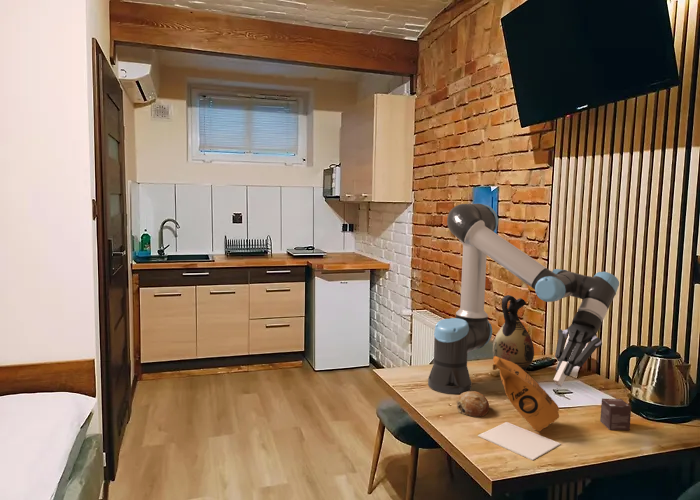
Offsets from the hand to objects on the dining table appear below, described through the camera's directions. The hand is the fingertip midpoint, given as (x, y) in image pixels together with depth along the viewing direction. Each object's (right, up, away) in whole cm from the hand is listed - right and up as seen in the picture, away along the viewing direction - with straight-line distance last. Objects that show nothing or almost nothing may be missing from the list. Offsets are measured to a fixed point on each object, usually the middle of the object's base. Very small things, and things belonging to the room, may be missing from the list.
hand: (557, 382), depth 146 cm
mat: (-12, -15, -4) cm, 20 cm away
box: (+19, -15, +6) cm, 25 cm away
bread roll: (-20, -13, +16) cm, 29 cm away
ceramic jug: (+3, -9, +53) cm, 54 cm away
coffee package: (-2, -11, +2) cm, 12 cm away
